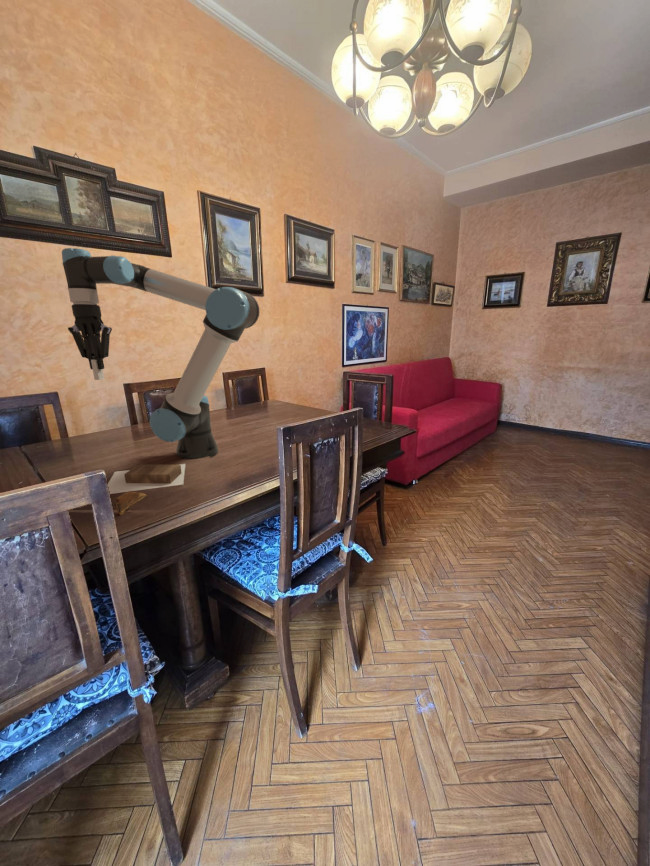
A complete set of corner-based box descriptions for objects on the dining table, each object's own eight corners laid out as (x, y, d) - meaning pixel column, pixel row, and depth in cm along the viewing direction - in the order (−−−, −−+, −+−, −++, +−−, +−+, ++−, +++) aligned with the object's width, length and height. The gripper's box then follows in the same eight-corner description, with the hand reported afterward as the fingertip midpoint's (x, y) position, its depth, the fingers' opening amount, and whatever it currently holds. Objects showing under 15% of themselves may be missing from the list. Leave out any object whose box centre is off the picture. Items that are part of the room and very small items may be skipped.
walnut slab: (124, 474, 107) (169, 474, 106) (138, 464, 114) (180, 464, 114) (125, 483, 108) (170, 483, 107) (139, 472, 115) (181, 473, 115)
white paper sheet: (185, 465, 123) (185, 463, 123) (183, 486, 107) (183, 484, 107) (115, 473, 116) (114, 471, 116) (101, 497, 100) (101, 495, 100)
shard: (120, 517, 90) (119, 511, 90) (95, 514, 92) (94, 508, 91) (149, 498, 100) (148, 493, 100) (126, 496, 102) (125, 490, 102)
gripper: (113, 304, 113) (125, 377, 120) (73, 305, 113) (87, 377, 120) (98, 303, 106) (111, 381, 112) (56, 303, 106) (72, 380, 113)
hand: (99, 379), depth 116 cm, fingers closed
